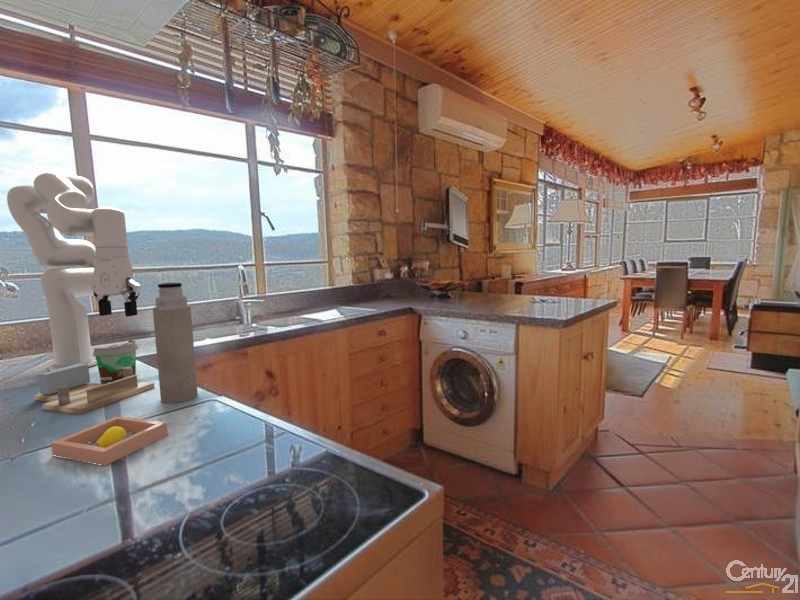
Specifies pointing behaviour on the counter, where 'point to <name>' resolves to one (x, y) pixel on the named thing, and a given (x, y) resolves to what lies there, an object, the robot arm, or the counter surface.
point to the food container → (116, 360)
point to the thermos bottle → (174, 344)
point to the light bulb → (111, 437)
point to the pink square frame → (144, 435)
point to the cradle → (93, 394)
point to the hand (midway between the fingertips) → (118, 315)
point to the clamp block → (63, 378)
